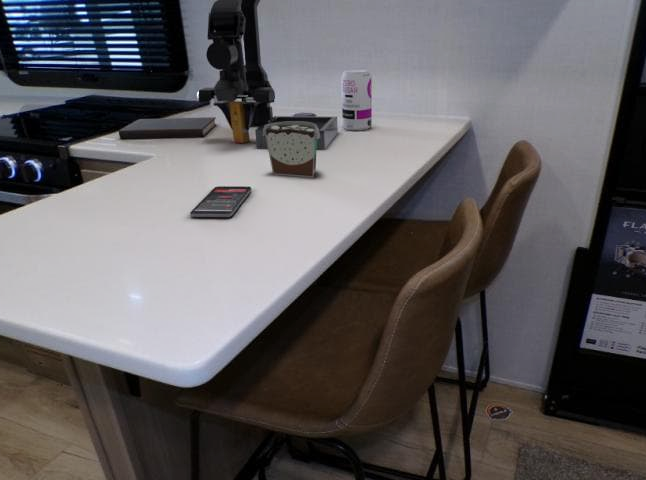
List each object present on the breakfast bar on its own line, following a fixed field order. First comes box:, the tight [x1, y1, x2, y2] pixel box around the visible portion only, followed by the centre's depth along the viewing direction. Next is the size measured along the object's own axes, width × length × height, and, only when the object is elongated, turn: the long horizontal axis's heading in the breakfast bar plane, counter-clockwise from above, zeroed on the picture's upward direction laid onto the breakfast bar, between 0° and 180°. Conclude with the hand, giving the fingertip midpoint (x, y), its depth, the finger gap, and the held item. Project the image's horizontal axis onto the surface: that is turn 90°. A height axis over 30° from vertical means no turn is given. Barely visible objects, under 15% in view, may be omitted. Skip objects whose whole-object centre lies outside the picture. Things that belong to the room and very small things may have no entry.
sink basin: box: [254, 115, 339, 150], centre depth 136 cm, size 17×17×4 cm
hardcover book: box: [118, 116, 218, 140], centre depth 149 cm, size 16×23×2 cm
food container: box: [263, 121, 320, 179], centre depth 110 cm, size 12×6×10 cm, turn 71°
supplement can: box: [340, 68, 373, 132], centre depth 145 cm, size 8×8×15 cm
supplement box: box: [229, 100, 251, 144], centre depth 135 cm, size 3×3×10 cm
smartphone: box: [189, 185, 252, 219], centre depth 95 cm, size 7×1×15 cm
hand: (240, 130), depth 136 cm, fingers closed on supplement box, 4 cm apart
